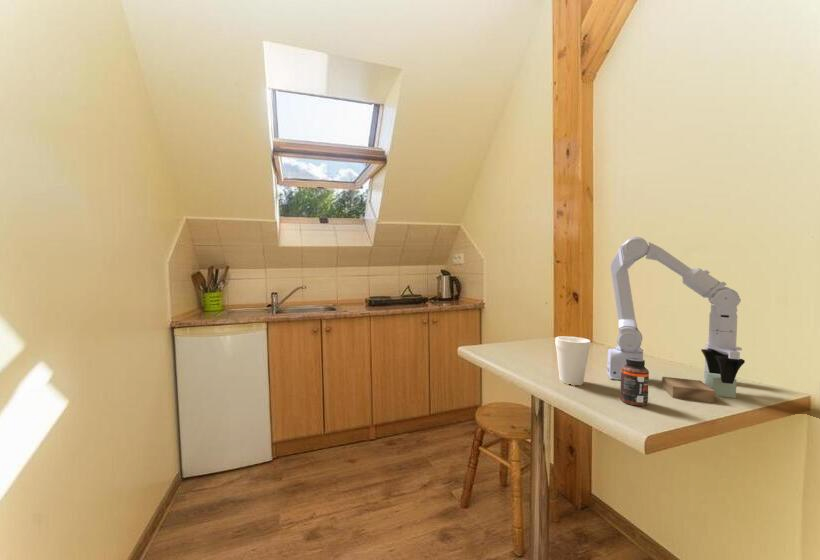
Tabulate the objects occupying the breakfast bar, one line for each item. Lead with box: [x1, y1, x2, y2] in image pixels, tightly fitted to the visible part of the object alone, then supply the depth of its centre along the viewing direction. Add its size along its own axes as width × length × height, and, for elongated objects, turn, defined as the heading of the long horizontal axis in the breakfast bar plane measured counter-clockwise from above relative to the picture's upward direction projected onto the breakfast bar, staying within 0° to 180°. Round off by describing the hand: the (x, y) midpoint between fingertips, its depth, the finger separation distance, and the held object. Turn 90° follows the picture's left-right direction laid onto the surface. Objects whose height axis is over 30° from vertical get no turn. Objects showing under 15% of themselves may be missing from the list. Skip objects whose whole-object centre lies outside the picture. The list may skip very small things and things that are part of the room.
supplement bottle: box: [619, 357, 650, 407], centre depth 88 cm, size 6×6×11 cm
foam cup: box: [554, 335, 591, 386], centre depth 103 cm, size 10×9×13 cm
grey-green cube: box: [704, 373, 737, 399], centre depth 96 cm, size 5×5×5 cm
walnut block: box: [661, 376, 716, 404], centre depth 94 cm, size 9×9×4 cm
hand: (720, 378), depth 96 cm, fingers open, 7 cm apart
